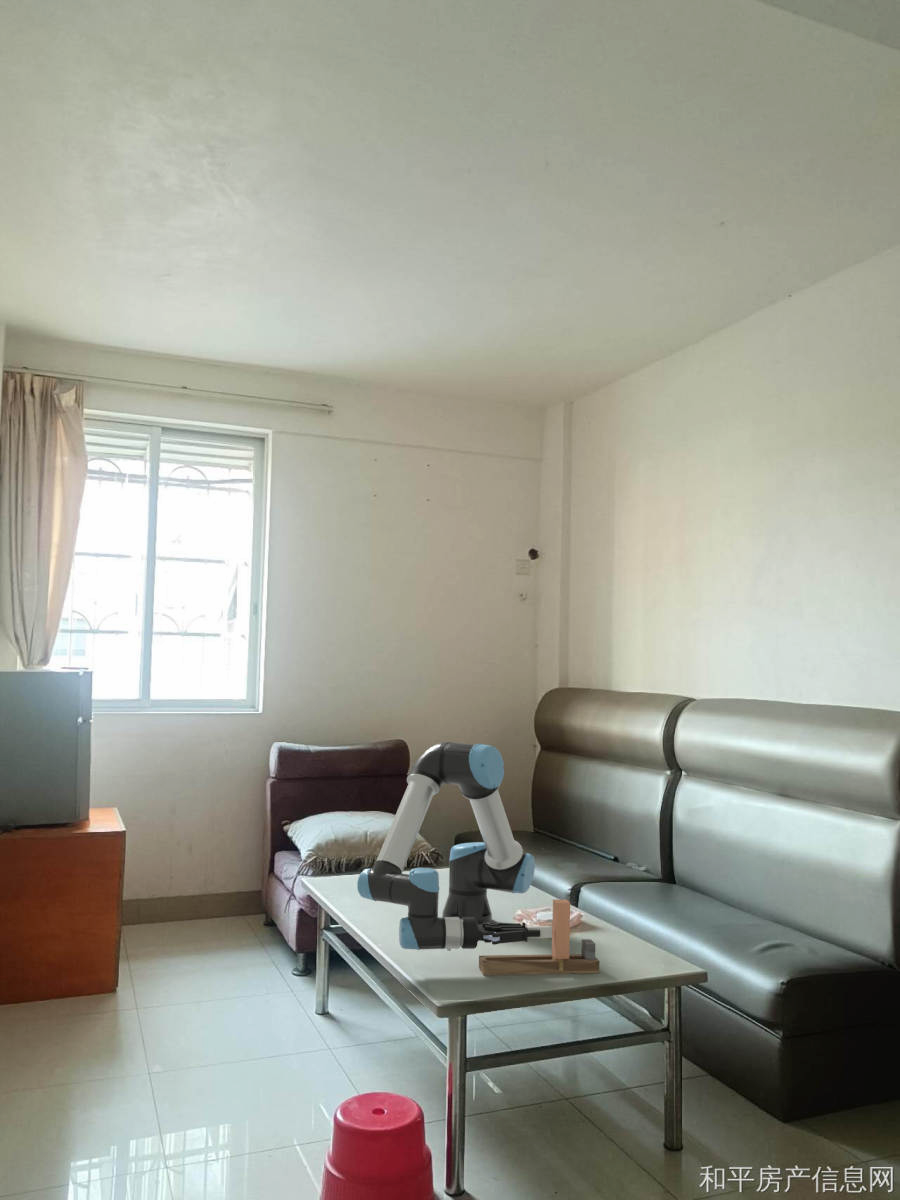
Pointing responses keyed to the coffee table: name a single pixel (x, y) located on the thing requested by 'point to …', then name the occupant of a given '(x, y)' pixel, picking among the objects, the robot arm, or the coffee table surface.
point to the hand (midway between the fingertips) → (551, 931)
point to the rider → (561, 929)
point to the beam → (541, 963)
